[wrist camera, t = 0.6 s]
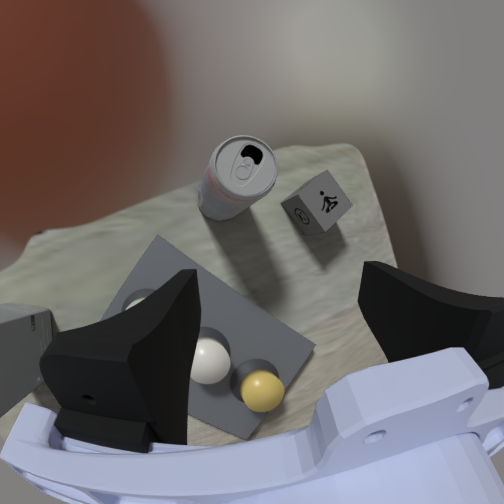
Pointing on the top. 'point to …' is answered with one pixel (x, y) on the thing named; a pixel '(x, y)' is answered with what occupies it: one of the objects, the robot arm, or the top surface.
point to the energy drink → (236, 177)
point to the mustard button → (261, 390)
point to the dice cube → (317, 204)
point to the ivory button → (209, 361)
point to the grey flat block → (221, 337)
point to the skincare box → (21, 351)
